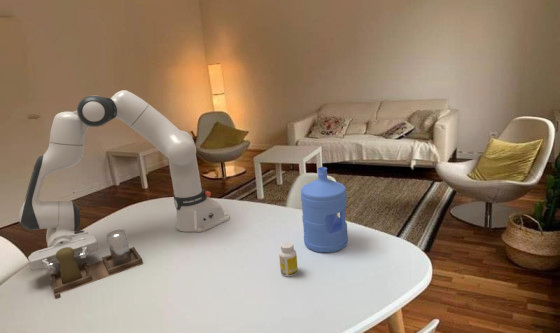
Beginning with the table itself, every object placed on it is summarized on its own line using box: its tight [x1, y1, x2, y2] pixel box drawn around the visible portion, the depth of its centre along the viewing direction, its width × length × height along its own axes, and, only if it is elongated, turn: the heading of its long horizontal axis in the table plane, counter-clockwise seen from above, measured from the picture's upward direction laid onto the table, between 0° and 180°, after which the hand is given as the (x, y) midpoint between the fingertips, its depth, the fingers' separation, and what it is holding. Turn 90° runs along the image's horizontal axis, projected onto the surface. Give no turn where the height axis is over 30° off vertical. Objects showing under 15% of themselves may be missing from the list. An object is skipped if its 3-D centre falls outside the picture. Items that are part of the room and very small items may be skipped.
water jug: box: [300, 166, 349, 253], centre depth 135 cm, size 16×16×28 cm
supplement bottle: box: [278, 241, 299, 277], centre depth 121 cm, size 5×5×10 cm
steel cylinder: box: [106, 228, 132, 266], centre depth 134 cm, size 6×6×11 cm
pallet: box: [50, 246, 144, 299], centre depth 131 cm, size 27×13×3 cm, turn 123°
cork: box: [56, 247, 82, 284], centre depth 125 cm, size 6×6×11 cm
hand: (67, 261), depth 124 cm, fingers open, 8 cm apart
